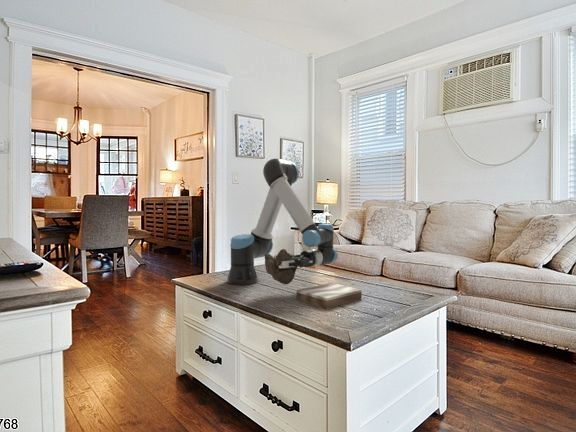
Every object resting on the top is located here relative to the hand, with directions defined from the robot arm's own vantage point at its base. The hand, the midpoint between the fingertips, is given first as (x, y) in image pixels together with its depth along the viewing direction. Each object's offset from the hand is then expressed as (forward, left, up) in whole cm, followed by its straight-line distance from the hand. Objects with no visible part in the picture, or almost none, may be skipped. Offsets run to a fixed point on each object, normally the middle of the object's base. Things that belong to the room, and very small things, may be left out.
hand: (273, 262), depth 156 cm
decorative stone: (0, +4, -9) cm, 10 cm away
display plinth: (+18, +15, -14) cm, 28 cm away
